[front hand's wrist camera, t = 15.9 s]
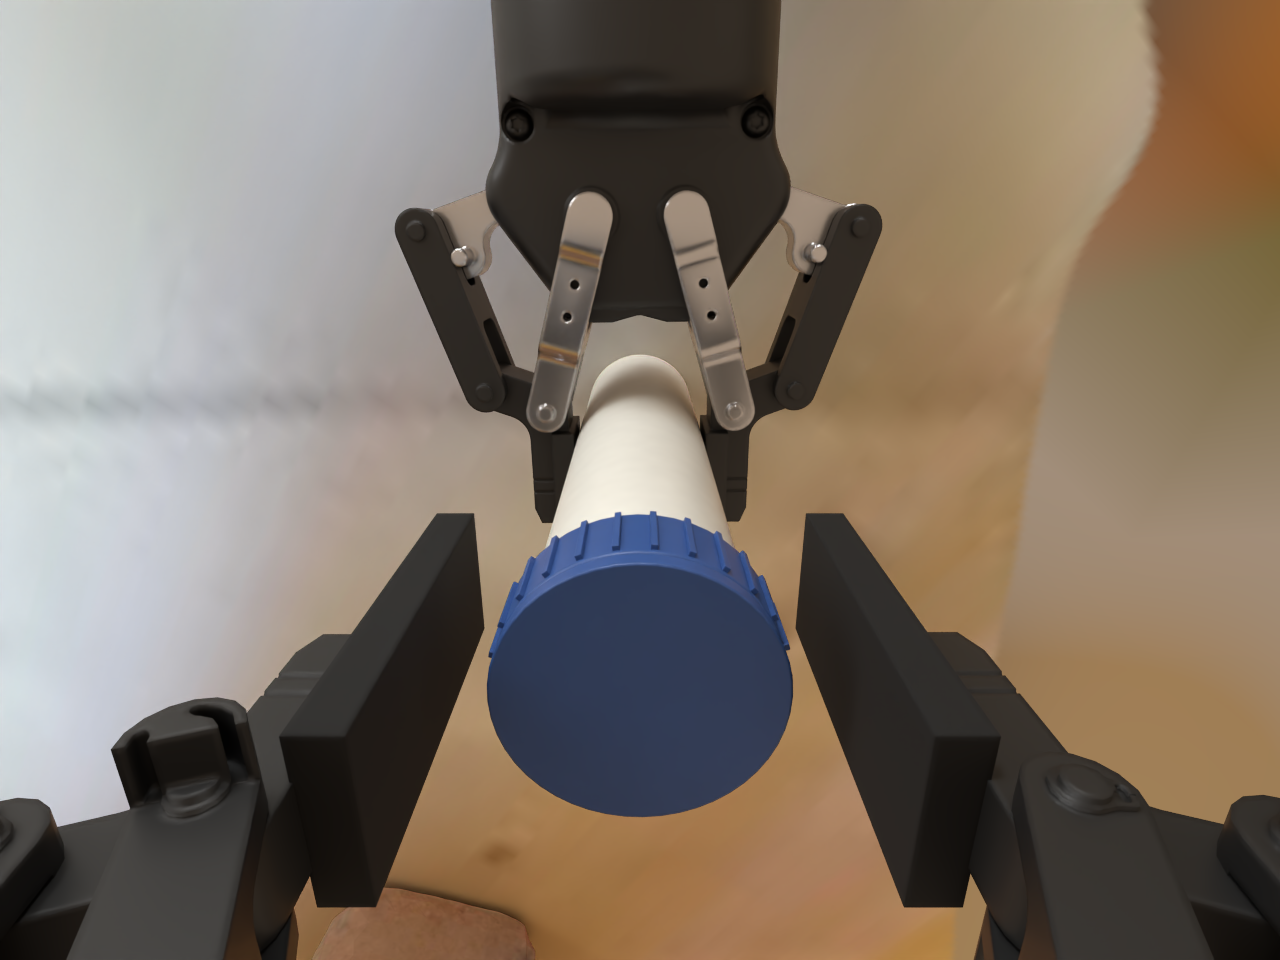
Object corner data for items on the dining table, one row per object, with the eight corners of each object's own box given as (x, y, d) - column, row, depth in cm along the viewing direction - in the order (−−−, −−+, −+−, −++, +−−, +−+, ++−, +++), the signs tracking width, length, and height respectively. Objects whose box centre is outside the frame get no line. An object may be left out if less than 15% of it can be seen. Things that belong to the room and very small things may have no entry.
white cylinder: (618, 335, 27) (583, 518, 10) (708, 383, 28) (815, 630, 11) (573, 424, 28) (473, 718, 11) (659, 467, 29) (687, 807, 12)
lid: (534, 756, 13) (518, 837, 11) (476, 528, 12) (447, 582, 10) (785, 726, 13) (807, 803, 11) (762, 489, 11) (785, 536, 10)
